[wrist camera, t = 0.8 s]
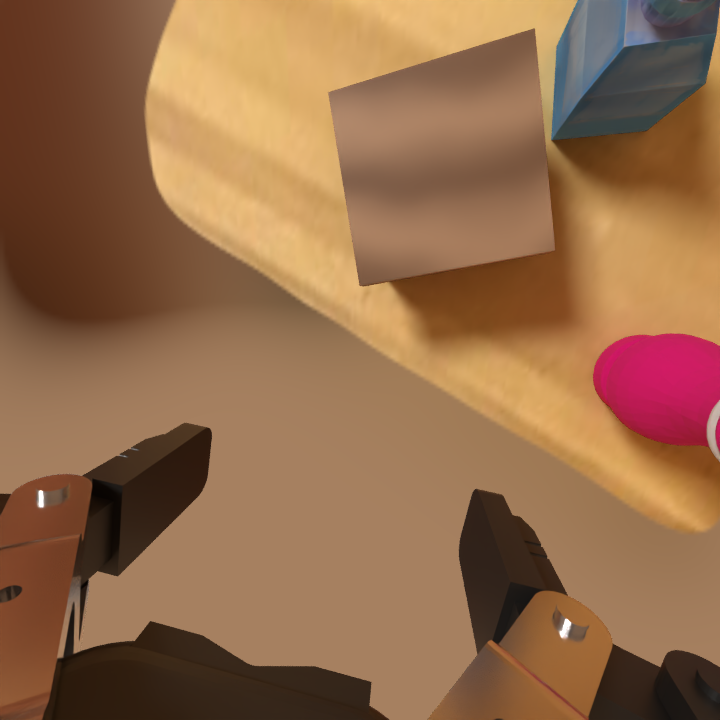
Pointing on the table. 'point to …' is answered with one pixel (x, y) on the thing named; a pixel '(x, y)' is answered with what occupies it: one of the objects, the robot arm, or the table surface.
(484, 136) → the brown legged piece
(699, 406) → the pepper mill
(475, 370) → the table surface
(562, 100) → the perfume bottle
